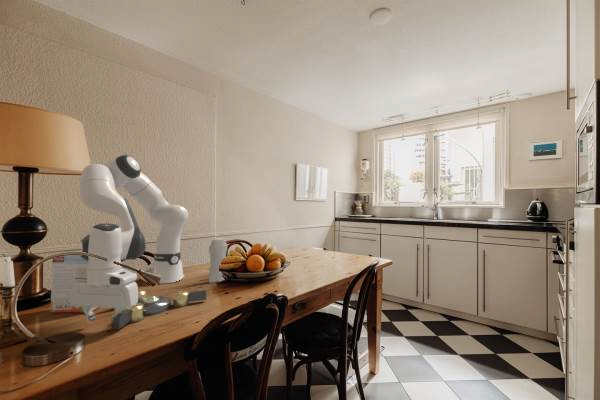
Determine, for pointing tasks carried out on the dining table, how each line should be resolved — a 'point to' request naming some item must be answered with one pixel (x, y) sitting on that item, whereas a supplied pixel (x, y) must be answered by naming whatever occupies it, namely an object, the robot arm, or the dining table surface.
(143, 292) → the knob back
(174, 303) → the knob left
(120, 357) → the dining table surface
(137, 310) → the knob front
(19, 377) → the dining table surface
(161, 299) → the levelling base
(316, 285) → the dining table surface
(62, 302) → the cracker box
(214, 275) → the tall pale column
